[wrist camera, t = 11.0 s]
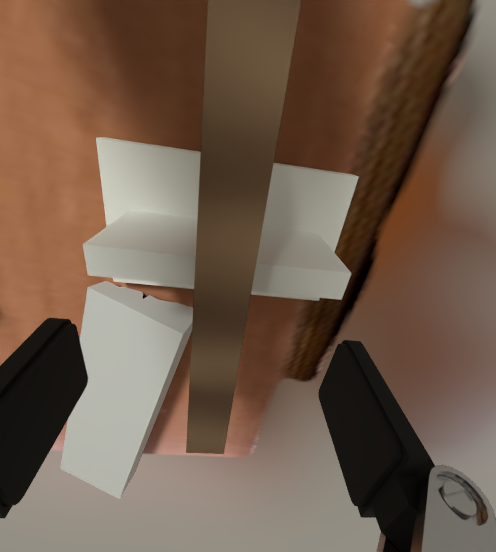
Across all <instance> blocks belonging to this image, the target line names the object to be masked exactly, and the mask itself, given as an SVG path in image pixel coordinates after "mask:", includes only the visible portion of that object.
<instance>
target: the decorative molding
mask: <svg viewBox="0 0 496 552" xmlns="http://www.w3.org/2000/svg"><path fill="white" fill-rule="evenodd" d="M142 297H143V292H140V291H137V290H133V289H130V288H127V287H123V286H122V287H118V286H116V285H114V284H112V283H110V282H107V281H104V282H101V283H99V284H96V285H93V286H90V287H88V290H87V296H86V303H85V309H84V316H83V323H82V329H81V336H80V344H81V349H82V353H83V357H84V362H85V366H86V370H87V374H88V383H87V386H86V388H85V390H84V392H83V394H82V395H81V397H80V399H79V401H78V402H77V404H76V406H75V408H74V409H73V411H72V413H71V415H70V416H69V418H68V422H67V429H66V435H65V442H64V448H63V455H62V462H61V468H60V469H62V470H64V471H66V472H68V473H70V474H72V475H74V476H76V477H78V478H80V479H81V480H84V481H85V482H87V483H89V484H91V485H93V486H95V487H97V488H99V489H101V490H103V491H105V492H107V493H109V494H111V495H113V496H114V497H116V498H118V499H120V497H121V496H122V494H123V492H124V490H125V489H126V487H127V485H128V483H129V482H130V480H131V478H132V476H133V475H134V473H135V471H136V468H137V466H138V463H139V461H140V458H141V456H142V453H143V451H144V449H145V446H146V444H147V441H148V439H149V436H150V434H151V431H152V429H153V426H154V424H155V421H156V419H157V416H158V414H159V411H160V409H161V406H162V404H163V401H164V399H165V396H166V394H167V391H168V389H169V386H170V384H171V381H172V379H173V377H174V374H175V372H176V369H177V367H178V364H179V362H180V359H181V357H182V354H183V352H184V349H185V347H186V344H187V342H188V339H189V337H190V334H191V332H192V322H193V307H190V306H186V305H183V304H180V303H176V302H167V301H163V300H158V299H156V298H154V297H153V296H151V295H149V296H147V297H146V298H144V299H143V298H142Z"/></svg>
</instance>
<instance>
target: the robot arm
mask: <svg viewBox="0 0 496 552" xmlns="http://www.w3.org/2000/svg"><path fill="white" fill-rule="evenodd" d="M87 383H88V374H87V370H86V366H85V362H84V357H83V353H82V349H81V344H80V340H79V336H78V332H77V327H76V325H75V324H72V323H71V321H70V320H69V319H58V318H48V319H47V320H45V321H44V322H43V323H42V324H41V325H40V326H39V327H38V328H37V329H36V330H35V331H34V332H33V333H32V334H31V335H30V336H29V337H28V338H27V339H26V340H25V341H24V342H23V343H22V344H21V345H20V347H19V348H18V349H17V350H16V351H15V352H14V353H13V354H12V355H11V356H10V357H9V358H8V359H7V360H6V361H5V362H4V363H3V364H2V365H1V366H0V518H5V517H6V515H7V514H8V512H9V510H10V509H11V507H12V505H16V504H17V503H19V502H20V500H21V499H22V498H23V496H24V495H25V493H26V491H27V489H28V488H29V486H30V484H31V482H32V481H33V479H34V477H35V476H36V474H37V472H38V470H39V468H40V467H41V465H42V463H43V462H44V460H45V458H46V456H47V454H48V453H49V451H50V449H51V448H52V446H53V444H54V442H55V441H56V439H57V437H58V435H59V434H60V432H61V430H62V428H63V427H64V425H65V423H66V421H67V420H68V418H69V416H70V415H71V413H72V411H73V409H74V408H75V406H76V404H77V402H78V401H79V399H80V397H81V395H82V394H83V392H84V390H85V388H86V386H87ZM319 400H320V403H321V406H322V409H323V413H324V415H325V419H326V422H327V425H328V428H329V432H330V435H331V438H332V441H333V444H334V447H335V451H336V454H337V457H338V460H339V463H340V467H341V470H342V473H343V476H344V479H345V482H346V486H347V489H348V492H349V495H350V498H351V501H352V503H353V504H354V505H355V506H358V509H359V513H360V516H361V517H376V519H377V522H378V525H379V527H380V530H381V534H380V539H379V543H378V548H377V552H496V518H495V515H494V511H493V508H492V506H491V505H490V503H489V501H488V499H487V497H486V496H485V495H484V493H483V492H482V491H481V489H480V488H479V487H478V486H477V485H476V484H475V483H474V482H473V481H472V480H471V479H469V478H468V477H467V476H465V475H464V474H463V473H462V472H460V471H458V470H456V469H454V468H452V467H449V466H445V465H437V466H435V465H434V463H433V462H432V460H431V458H430V456H429V455H428V453H427V451H426V450H425V448H424V446H423V445H422V443H421V441H420V440H419V438H418V436H417V435H416V433H415V431H414V430H413V428H412V426H411V425H410V423H409V421H408V419H407V418H406V416H405V414H404V413H403V411H402V409H401V408H400V406H399V404H398V403H397V401H396V399H395V398H394V396H393V394H392V393H391V391H390V389H389V388H388V386H387V384H386V383H385V381H384V379H383V378H382V376H381V374H380V372H379V371H378V369H377V367H376V366H375V364H374V362H373V361H372V359H371V358H370V356H369V354H368V352H367V351H366V349H365V347H364V346H363V344H362V343H361V342H360V341H349V340H344V341H343V342H342V344H338V346H337V348H336V350H335V353H334V355H333V357H332V360H331V362H330V365H329V368H328V370H327V372H326V375H325V377H324V379H323V382H322V384H321V386H320V389H319Z"/></svg>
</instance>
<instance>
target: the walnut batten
mask: <svg viewBox="0 0 496 552" xmlns="http://www.w3.org/2000/svg"><path fill="white" fill-rule="evenodd" d="M300 6H301V0H208V9H207V30H206V51H205V72H204V93H203V114H202V134H201V155H200V176H199V197H198V218H197V239H196V259H195V280H194V301H193V322H192V343H191V364H190V385H189V405H188V426H187V447H186V453H215V454H224V448H225V443H226V437H227V431H228V425H229V419H230V414H231V408H232V402H233V396H234V390H235V384H236V379H237V373H238V367H239V361H240V355H241V349H242V344H243V338H244V332H245V326H246V320H247V315H248V309H249V303H250V297H251V291H252V285H253V280H254V274H255V268H256V262H257V256H258V251H259V245H260V239H261V233H262V227H263V221H264V216H265V210H266V204H267V198H268V192H269V186H270V181H271V175H272V169H273V163H274V157H275V152H276V146H277V140H278V134H279V128H280V122H281V117H282V111H283V105H284V99H285V93H286V87H287V82H288V76H289V70H290V64H291V58H292V53H293V47H294V41H295V35H296V29H297V23H298V18H299V12H300Z"/></svg>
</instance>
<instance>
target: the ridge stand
mask: <svg viewBox="0 0 496 552" xmlns="http://www.w3.org/2000/svg"><path fill="white" fill-rule="evenodd" d="M96 143H97V151H98V159H99V167H100V176H101V184H102V192H103V200H104V208H105V216H106V224H107V227H106V228H105V229H103V230H102V231H100V232H99V233H98V234H96V235H95V236H94V237H92V238H91V239H89V240H88V241H87V242H85V243H84V244H83V249H84V255H85V260H86V266H87V272H88V275H90V276H101V277H111V278H113V281H115V282H125V283H136V284H146V285H157V286H167V287H178V288H188V289H194V280H195V259H196V239H197V218H198V197H199V176H200V155H201V152H200V151H193V150H186V149H180V148H173V147H166V146H160V145H153V144H146V143H139V142H133V141H126V140H119V139H113V138H106V137H100V138H96ZM358 178H359V177H358V176H355V175H353V174H347V173H340V172H334V171H327V170H320V169H314V168H307V167H300V166H294V165H287V164H280V163H273V169H272V175H271V181H270V186H269V192H268V198H267V204H266V210H265V216H264V221H263V227H262V233H261V239H260V245H259V251H258V256H257V262H256V268H255V274H254V280H253V285H252V291H251V294H252V295H262V296H273V297H283V298H294V299H304V300H315V301H319V299H320V298H329V299H339V300H342V297H343V295H344V292H345V289H346V287H347V284H348V281H349V279H350V276H351V272H350V271H349V270H348V269H347V267H346V266H345V265H344V264H343V263H342V261H341V260H340V259H339V258H338V257H337V255H336V254H335V253H334V252H335V249H336V246H337V243H338V240H339V237H340V234H341V231H342V227H343V224H344V221H345V218H346V215H347V212H348V209H349V206H350V203H351V200H352V196H353V193H354V190H355V187H356V184H357V181H358Z"/></svg>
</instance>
